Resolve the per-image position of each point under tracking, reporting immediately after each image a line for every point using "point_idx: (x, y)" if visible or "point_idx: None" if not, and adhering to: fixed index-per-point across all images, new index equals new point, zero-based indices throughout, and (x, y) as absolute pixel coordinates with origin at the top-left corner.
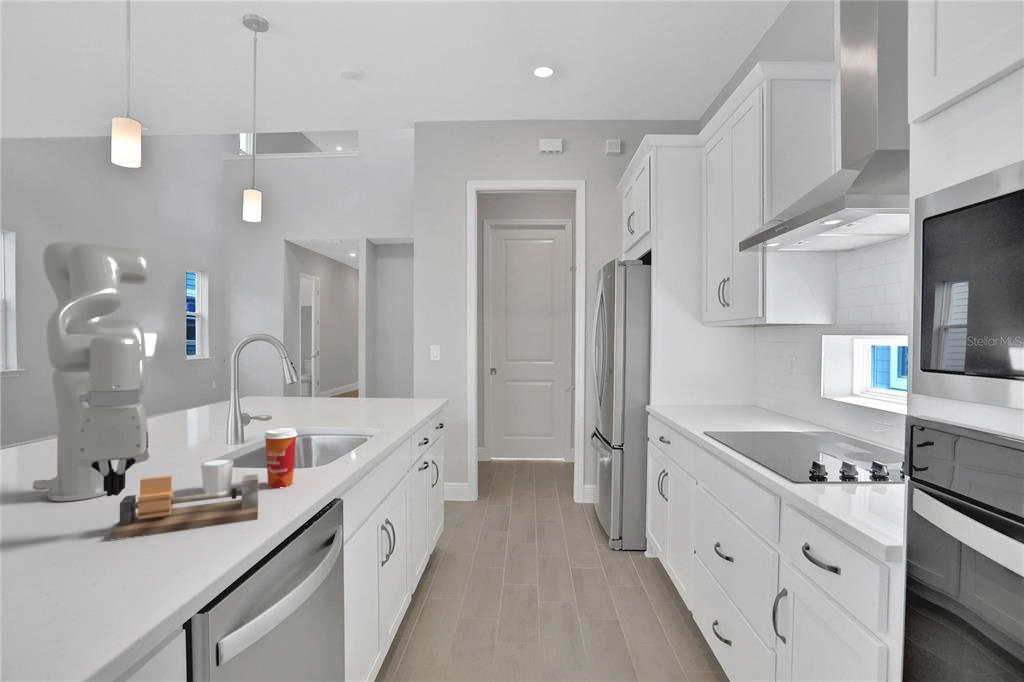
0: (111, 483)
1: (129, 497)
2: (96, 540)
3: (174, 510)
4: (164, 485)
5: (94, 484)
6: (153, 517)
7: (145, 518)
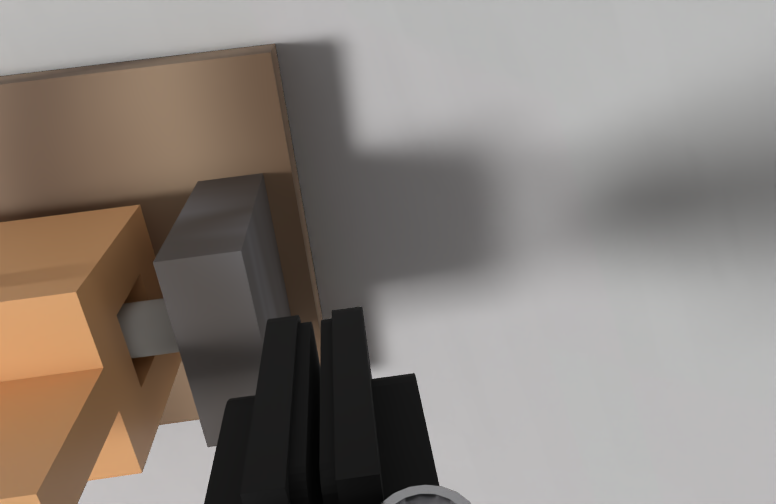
0: (325, 405)
1: (228, 391)
2: (375, 86)
3: None
4: None
5: None
6: None
7: None
